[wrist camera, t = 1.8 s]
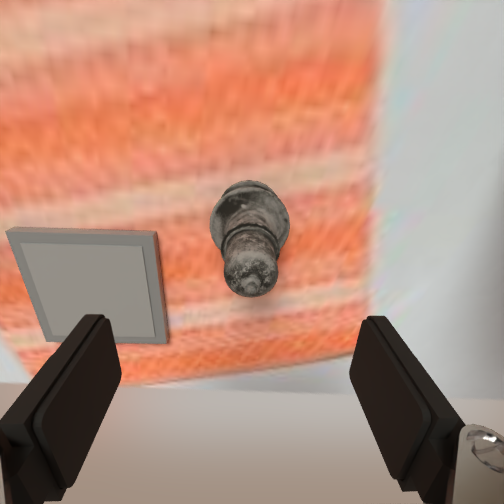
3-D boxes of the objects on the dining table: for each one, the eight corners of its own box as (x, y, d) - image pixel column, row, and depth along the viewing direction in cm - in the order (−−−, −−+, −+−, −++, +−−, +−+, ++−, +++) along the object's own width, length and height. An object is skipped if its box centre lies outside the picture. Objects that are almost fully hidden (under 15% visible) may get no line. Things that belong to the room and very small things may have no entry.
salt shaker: (273, 249, 26) (292, 349, 15) (208, 235, 25) (179, 329, 14) (293, 186, 23) (333, 252, 12) (222, 168, 22) (199, 221, 12)
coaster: (156, 231, 24) (152, 236, 23) (168, 336, 30) (166, 344, 29) (14, 227, 24) (3, 232, 23) (52, 334, 29) (45, 342, 28)
